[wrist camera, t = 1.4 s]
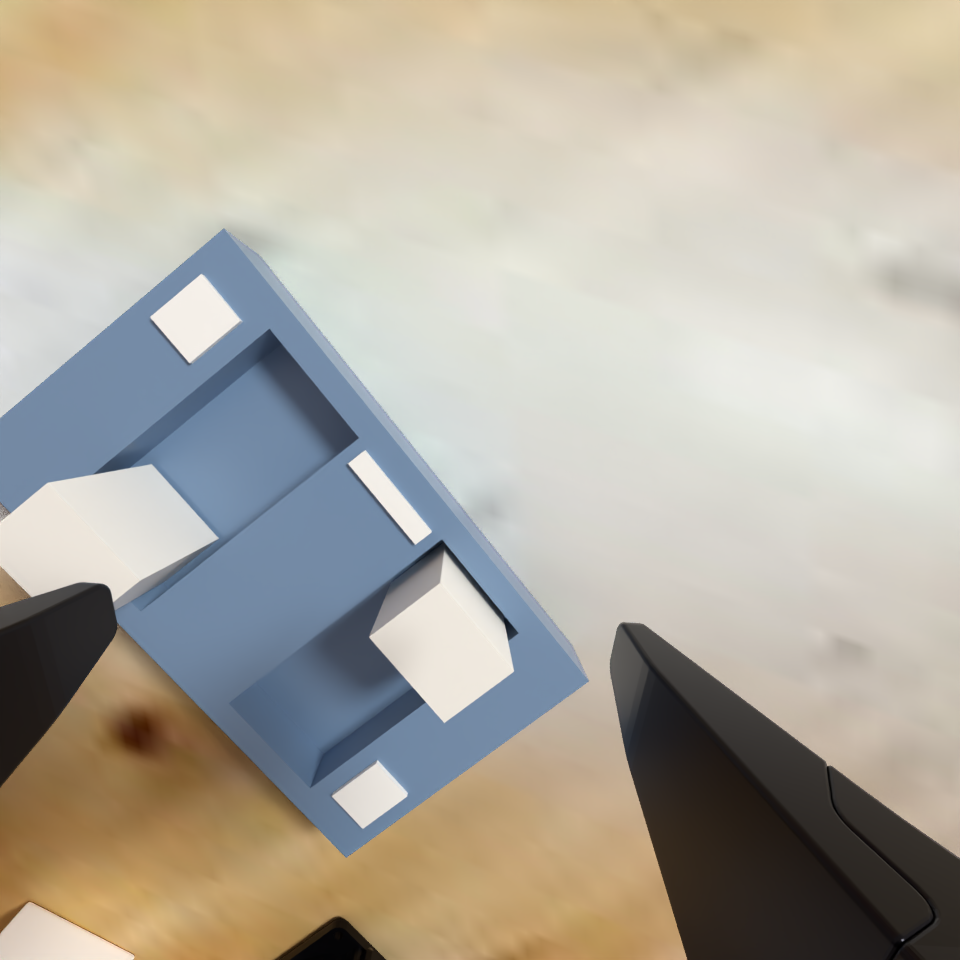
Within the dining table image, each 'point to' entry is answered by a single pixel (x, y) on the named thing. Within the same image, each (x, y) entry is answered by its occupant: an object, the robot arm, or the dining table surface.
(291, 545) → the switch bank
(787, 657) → the dining table surface
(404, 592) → the tab
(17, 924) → the milk
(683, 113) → the dining table surface
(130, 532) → the tab
